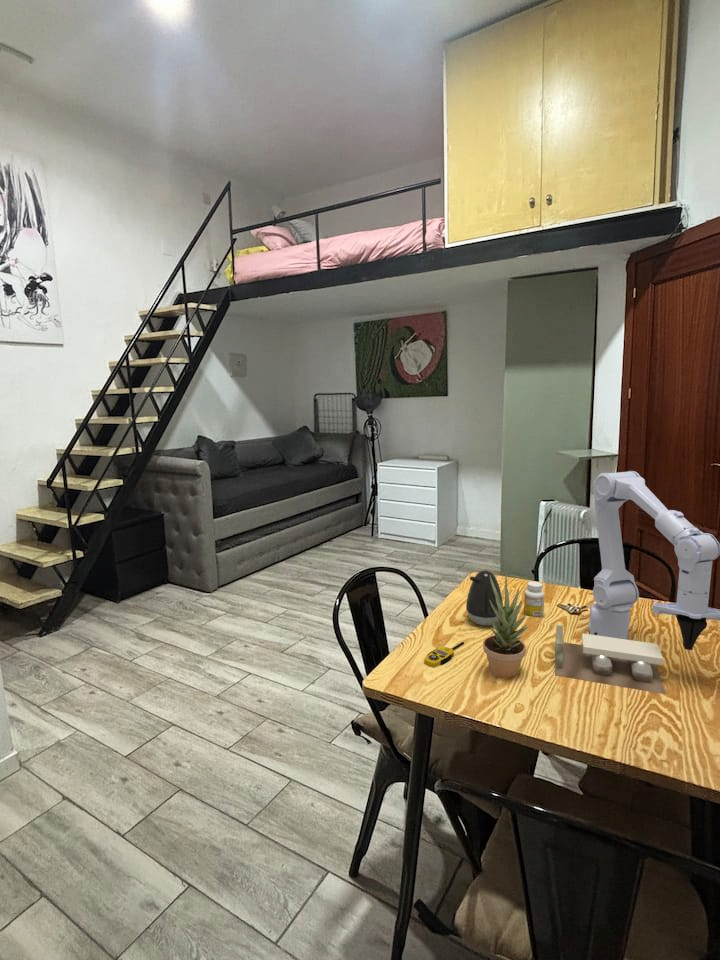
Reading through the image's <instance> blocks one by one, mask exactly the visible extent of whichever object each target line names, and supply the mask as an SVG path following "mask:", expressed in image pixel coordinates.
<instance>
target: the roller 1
mask: <svg viewBox="0 0 720 960" xmlns="http://www.w3.org/2000/svg"><path fill="white" fill-rule="evenodd" d="M591 656H592V664H593V669H594V671H595V672H596V673H597V674H599V675H608V674H610V673H611V672H612V663H611V658H610V657H607V656H600V655H594V654H591Z"/></svg>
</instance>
